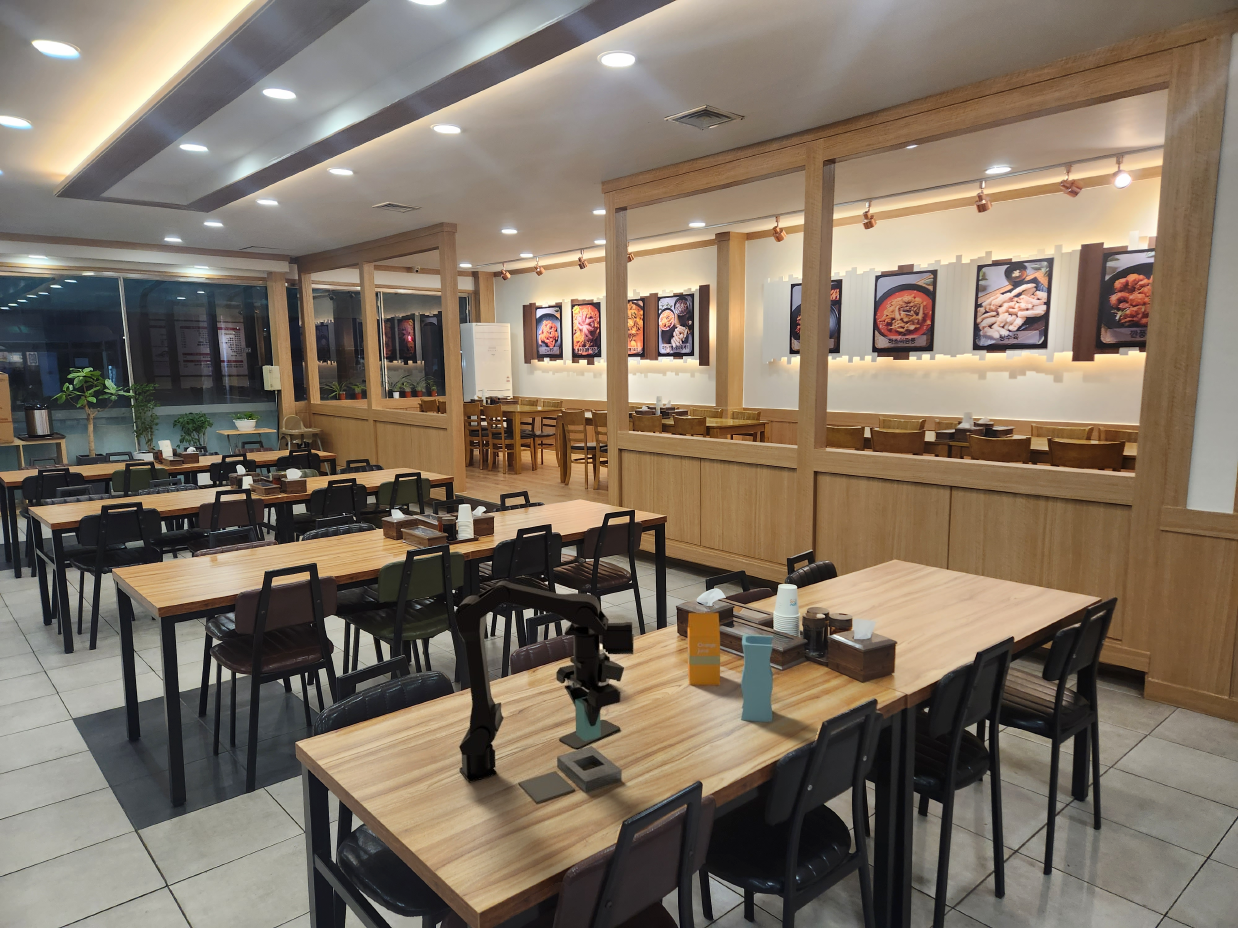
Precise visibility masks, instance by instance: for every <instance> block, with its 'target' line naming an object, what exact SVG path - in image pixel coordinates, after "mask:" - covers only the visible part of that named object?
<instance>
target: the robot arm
mask: <svg viewBox="0 0 1238 928" xmlns="http://www.w3.org/2000/svg"><path fill="white" fill-rule="evenodd" d="M502 604H509V605H513V606H517V607H521V608H522V607H523V608H526V609H532V610H534V611H535V610H536V611H540V612H544V613H548V614H554V615H557V616H558V617H560V618H562V619H563V620H565V621H567V622H569V623H570V625H568V626H567V627H565V630H564V636H573V656H571V657H570V658H569V659H570V663H571V664H569V665H564V666H561V667H559V668H558V670H557V671H556V681H558V682H559V683H560V684H564V683H565V682H566V680H567V682H568V685H567V684H566V685H565V686H564V690H566V693H567V694H568V696H569V698H570V701H571V702H572V704H573V706H574V707H575V699H579V698H583V697H588V698H584V699H582V702H583V705H584V708H585V712H586V715H587V718H588V721H589V723H590V726H595V725H596V722H597V719H598V716H599V713H600V714H601V709H602V708H604V707H607V706H610V705H614V704H619V703H621V700H622V699H621V695H622V693H621V691H619V690H618V688H616V687H614V686H612V685H611V684H609V683H608V684H607V685H603V686H600V685H598V684H599V682H601V683H603V682H606V679H610V680H613V681H616V682H621V680H622V677H623V673H624V670H625V667H624V666H622V665H621V664H619V663H617V662H616V661H613V660H611V658H610V655H634V650H635V649H634V643H635V642H634V640H635V639H634V638H635V635H634V632H633V629H634V628H633V622H632V621H625V622H610V620H609V618H608V617H607V615H606V614H605V613H604V612H603V610H602V609H601V604H600V601H599V600H598V598H597V597H596V596H595V595H593V594H590V593H579V592H577V593H575V592H574V593H557V592H552V591H548V590H544V589H539V588H534V587H531V586H527V585H523V584H517V583H512V582H510V581H508V580H501V581H499V582H497V584H495V585H494V586H492V587H490V588H488V589H486V590H485V591H482V592H480V593H479V594H478V595H470V596H467V597H466V598H464V599H463V601H462V602H461V603H460V604H459V605H458V606H457V608H455V611H454V615H453V617H454V618H453V619H454V621H455V624H456V625H455V626H456V628H457V632H458V634H459V636H460V637H461V638H462V641H463V643H464V648H465V649H464V650H465V657H466V663H467V666H466V667H467V671H468V672H467V673H468V680H469V687H470V695H471V710H470V718H469V727H468V729H467V731H466V733H465V735H464V737H463V739H462V741H461V743H459V746H458V748H459V750H460V752H461V753H460V754H461V766H460V767H459V771H460V773H461V774H462V775H463V777H464V778H465V779H466V780H467V781H468V782H469V783H472V782H476V781H478V780H481V779H486V778H489V777H491V776H496V775H497V770H496V769H495V768H496V750H495V749H494V744H493V741H494V740H496V736H497V734H498V732H499V730H500V728H501V725H502V723H503V721H504V718H505V717H504V715H503V713H502V702H497V703H496V702H495V700H494V699H493V697H492V691H491V681H490V675H489V665H488V658H487V651H486V641H485V634H486V633H485V631H486V627H487V626H486V625H487V619H488V616H487V615H488V614H490V613H491V612H492V611H494V610H495V609H497V608H498V607H500V605H502ZM601 636H602V637H601ZM600 637H601V638H600ZM601 639H602V643H601ZM600 644H602V645H603V649H604V650H605V651H604V652H605V653H606V654H607V655H606V654H600Z"/></svg>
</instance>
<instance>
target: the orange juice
mask: <svg viewBox="0 0 1238 928" xmlns="http://www.w3.org/2000/svg"><path fill="white" fill-rule="evenodd" d="M719 615H720V613H719V612H688V620H687V621H688V622H687V678H688V682H689V685H690V686H702V685H703V686H713V685H714V686H715V685H716V686H721V634H720V633H721V630H720V629H721V628H720V617H719Z"/></svg>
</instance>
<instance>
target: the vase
mask: <svg viewBox="0 0 1238 928" xmlns="http://www.w3.org/2000/svg"><path fill="white" fill-rule="evenodd" d="M773 637H774V636H773V635H763V634H761V635H760V634H743V635H742V639H741V645H742V650H743V659H744V660H743V661H744V663H743V668H742V673H741V679H740V680H741V681H740V688H741V691H742V692H741V693H742V698H743V699H742V700H743V701H742V702H743V703H742V706H741V708H742V712H741V718H740V720H741V721H750V722H763V723H769V722H772V721H773V707H772V693H773V690H774V689H773V688H774V683H773V682H774V676H773V675H774V673H773V670H772V666H771V655H772V651H773V648H774V645H773V644H772V643H773Z"/></svg>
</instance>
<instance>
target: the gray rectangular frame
mask: <svg viewBox="0 0 1238 928" xmlns="http://www.w3.org/2000/svg"><path fill="white" fill-rule="evenodd" d="M556 762H557V763H556V764H557V765H556V767H557V768H558V769H559V770H560V771H561V772H562V773H563V774H565V775H566V776H567V777H568V779H570V780H571V781H572V782H573V783H574V784H576V785H577V787H579V789H581V790H582V791H583V792H584V793H585V794H586V793H590V792H593V791H595V790H598V789H601V788H604V787H607V786H610V785H613V784H617V783H618V782H622V780H623V778H622V777H623V775H622V774H623V773H622V772H623V771H622V769H621V768H620V767H618V765H616V764H615V763H614V762H612V761H611V760H610V759H609V758H608V757H606V756H605V755H604V754H602V753H601V752H600V751H599V750H598V749H596V748H595V747H594V746H593V745H591V746H590V745H589V746H585V747H583V748H580V749H575V750H574V751H570V752H568V753H564V754H560V755H557V756H556ZM590 767H594V768H590ZM587 768H590V769H587ZM583 769H587V770H583Z"/></svg>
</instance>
